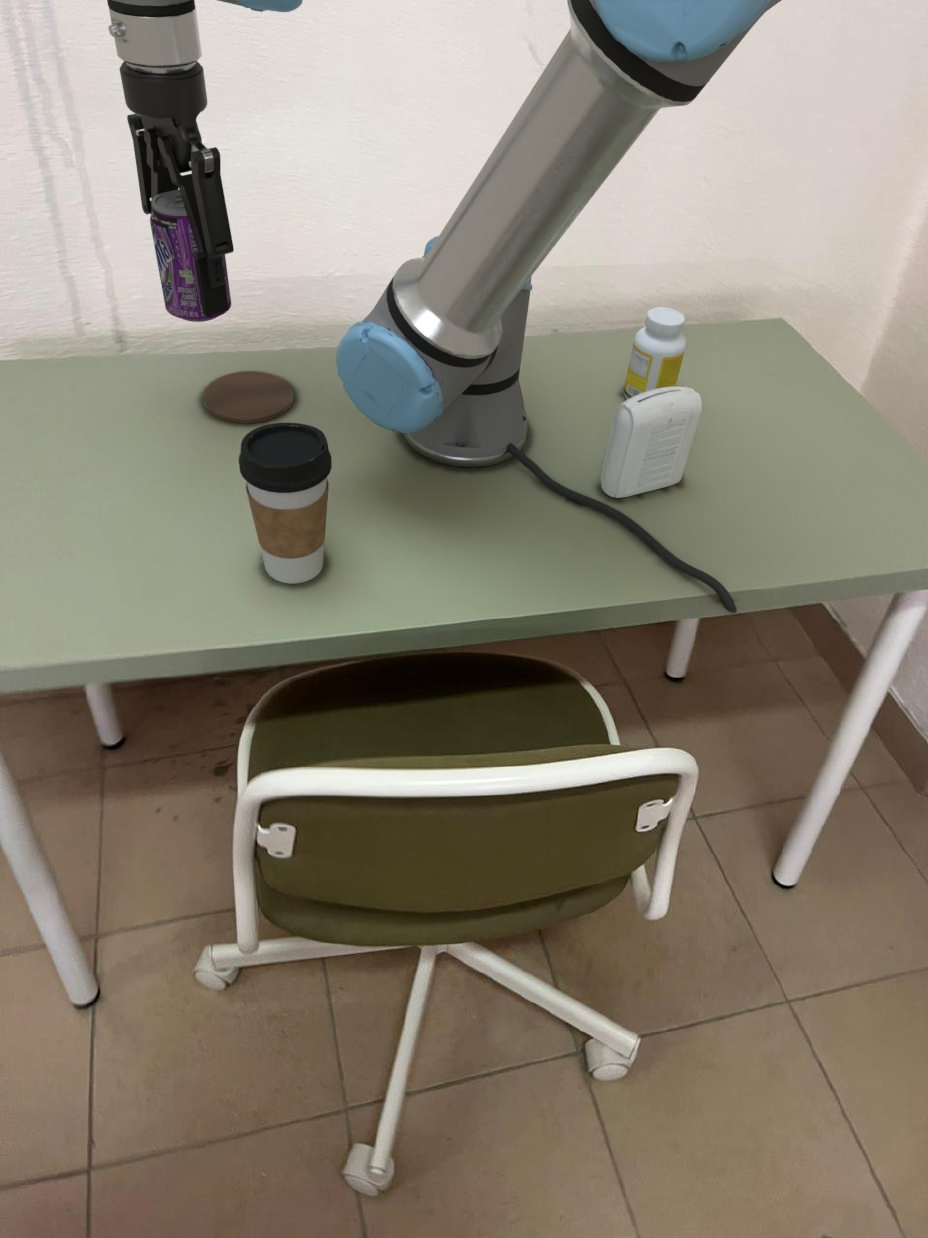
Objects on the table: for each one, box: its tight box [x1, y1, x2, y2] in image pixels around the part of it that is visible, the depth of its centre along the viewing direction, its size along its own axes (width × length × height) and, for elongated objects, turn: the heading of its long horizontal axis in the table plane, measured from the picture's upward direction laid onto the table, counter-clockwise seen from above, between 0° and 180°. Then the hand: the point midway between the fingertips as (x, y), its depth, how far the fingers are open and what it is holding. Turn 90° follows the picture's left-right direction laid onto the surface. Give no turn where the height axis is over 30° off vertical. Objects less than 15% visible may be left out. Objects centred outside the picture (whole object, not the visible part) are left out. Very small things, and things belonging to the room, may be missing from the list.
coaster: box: [202, 370, 295, 424], centre depth 113 cm, size 11×11×1 cm
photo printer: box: [599, 385, 703, 499], centre depth 102 cm, size 10×4×12 cm, turn 117°
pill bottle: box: [623, 306, 687, 400], centre depth 116 cm, size 6×6×12 cm
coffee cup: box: [238, 422, 333, 585], centre depth 88 cm, size 8×8×15 cm
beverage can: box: [149, 189, 232, 323], centre depth 97 cm, size 7×7×12 cm
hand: (197, 297), depth 100 cm, fingers closed on beverage can, 7 cm apart
